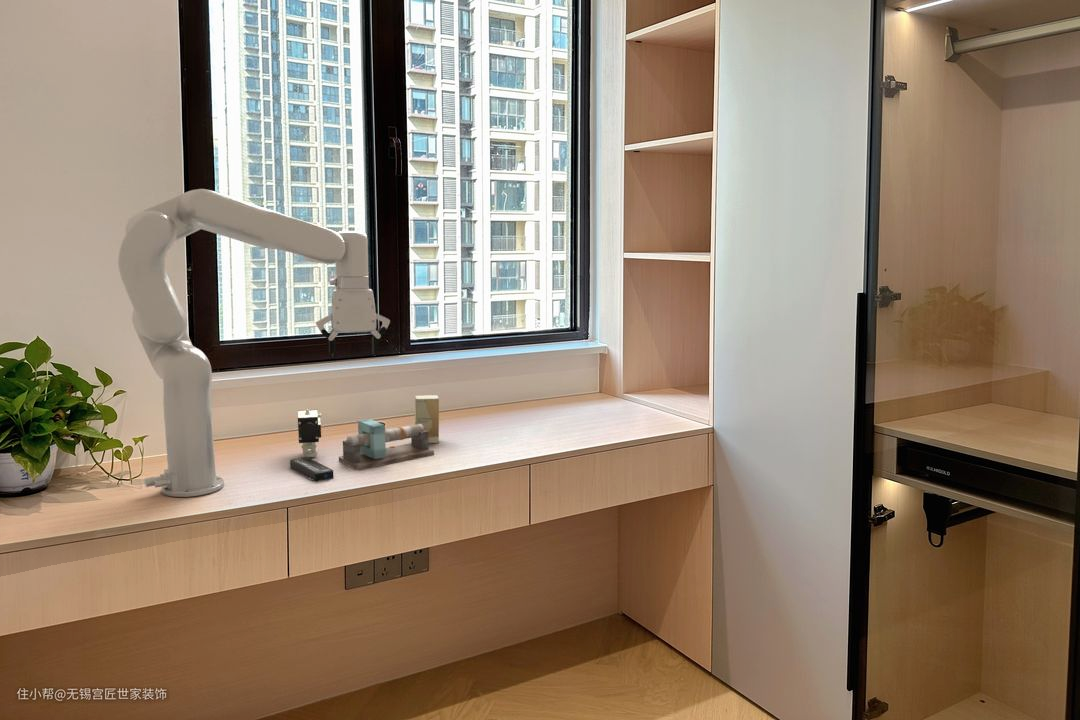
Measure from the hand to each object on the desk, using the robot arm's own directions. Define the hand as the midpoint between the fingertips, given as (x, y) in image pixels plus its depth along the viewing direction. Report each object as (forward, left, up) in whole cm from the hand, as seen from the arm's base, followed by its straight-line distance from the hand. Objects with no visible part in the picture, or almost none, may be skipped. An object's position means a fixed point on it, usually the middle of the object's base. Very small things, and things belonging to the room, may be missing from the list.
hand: (354, 355), depth 201 cm
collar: (+3, -2, -25) cm, 25 cm away
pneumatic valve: (-7, +11, -26) cm, 30 cm away
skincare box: (+23, +5, -26) cm, 35 cm away
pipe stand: (+7, -2, -26) cm, 27 cm away
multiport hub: (-13, -2, -27) cm, 30 cm away
